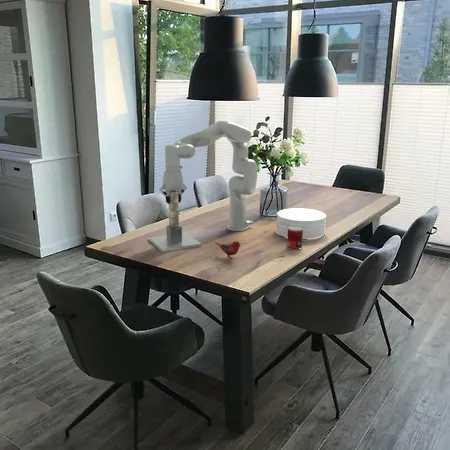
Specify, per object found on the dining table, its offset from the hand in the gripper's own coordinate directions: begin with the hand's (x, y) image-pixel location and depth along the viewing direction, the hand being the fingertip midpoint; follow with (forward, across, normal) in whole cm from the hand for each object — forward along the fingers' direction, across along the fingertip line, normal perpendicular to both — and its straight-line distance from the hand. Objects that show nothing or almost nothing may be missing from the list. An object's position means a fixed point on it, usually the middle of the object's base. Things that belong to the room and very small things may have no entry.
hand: (173, 202), depth 264 cm
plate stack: (+23, -73, +13) cm, 78 cm away
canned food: (+23, -55, +34) cm, 69 cm away
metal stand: (+23, 0, 0) cm, 23 cm away
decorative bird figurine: (+23, -16, +32) cm, 43 cm away
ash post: (+14, 0, 0) cm, 14 cm away
